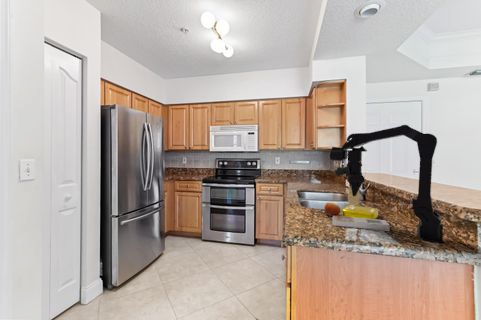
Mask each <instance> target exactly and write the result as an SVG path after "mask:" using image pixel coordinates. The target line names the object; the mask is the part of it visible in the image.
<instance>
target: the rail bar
mask: <svg viewBox="0 0 481 320" xmlns="http://www.w3.org/2000/svg"><path fill="white" fill-rule="evenodd" d="M332 226H334V227H346V228H354V229H365V230H373V231H375V230H376V231H382V232H385V231H386V232H390V231H391V230H390V224H389V223H388V222H387V221H386V220H383V219H364V218H353V217H346V216H342V215H337V216H332Z"/></svg>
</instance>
